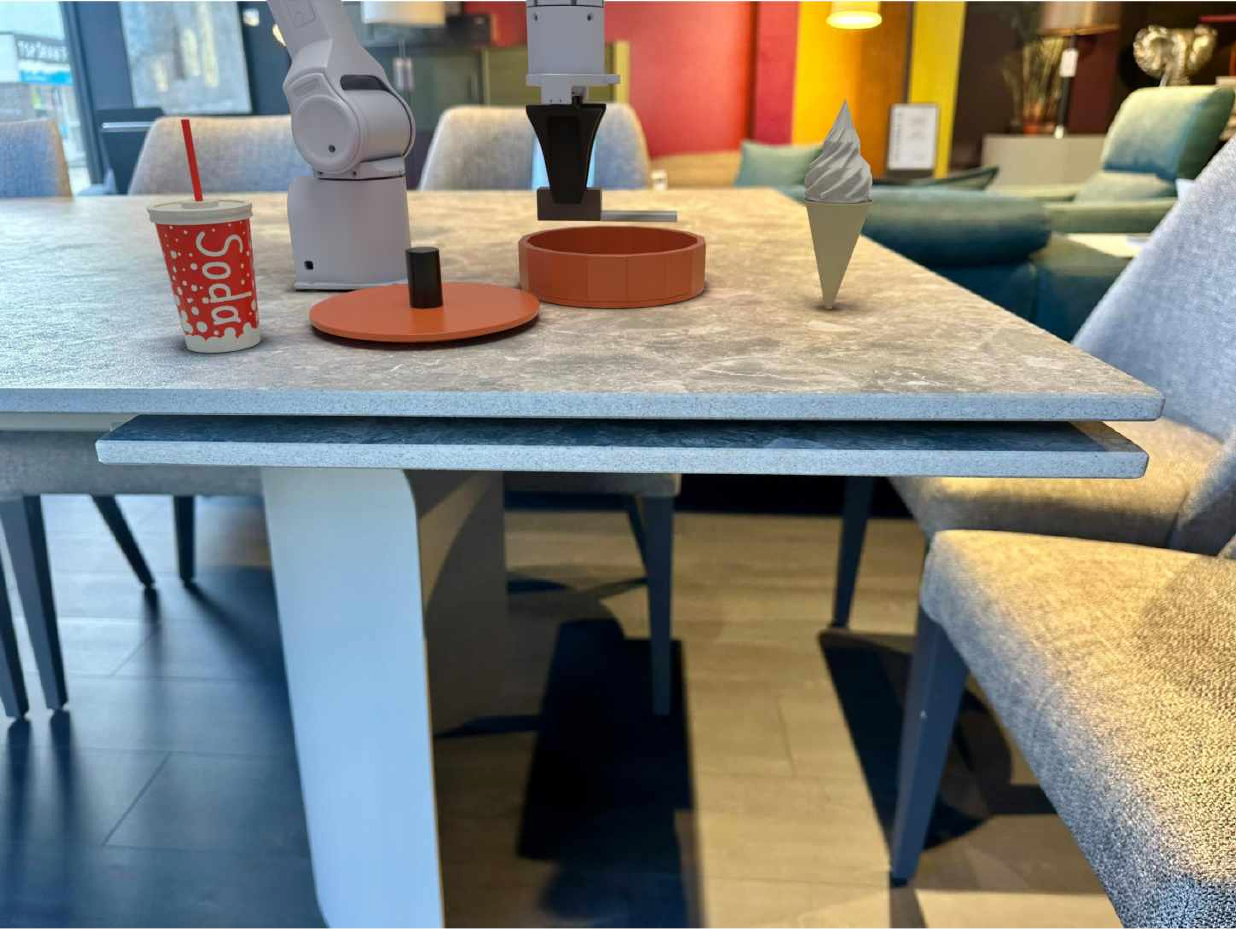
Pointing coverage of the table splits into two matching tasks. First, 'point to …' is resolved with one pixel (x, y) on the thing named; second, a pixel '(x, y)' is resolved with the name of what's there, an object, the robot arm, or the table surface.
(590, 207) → the knife
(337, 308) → the pan lid
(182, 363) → the table surface
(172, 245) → the beverage cup
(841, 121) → the ice cream cone
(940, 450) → the table surface
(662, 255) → the pan
